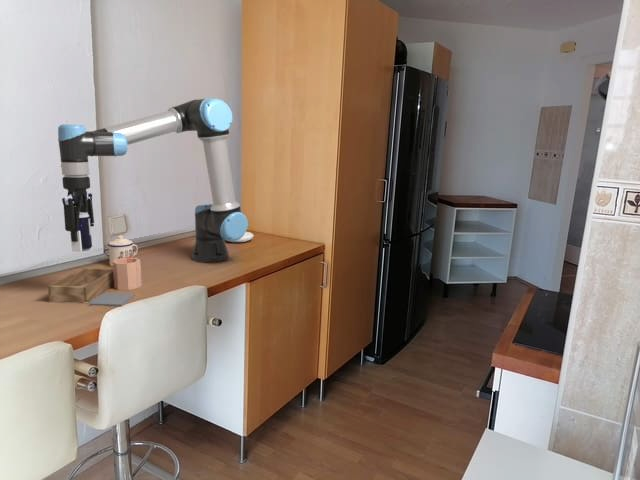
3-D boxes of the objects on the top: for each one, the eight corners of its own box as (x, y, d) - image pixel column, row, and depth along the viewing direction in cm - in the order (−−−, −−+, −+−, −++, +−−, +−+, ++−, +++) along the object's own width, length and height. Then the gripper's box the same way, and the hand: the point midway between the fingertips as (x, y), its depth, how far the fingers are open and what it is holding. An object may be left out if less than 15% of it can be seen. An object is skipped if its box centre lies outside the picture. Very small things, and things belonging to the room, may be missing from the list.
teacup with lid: (119, 268, 178) (117, 239, 176) (104, 265, 183) (102, 236, 181) (145, 262, 188) (143, 234, 186) (130, 259, 193) (129, 231, 191)
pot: (144, 283, 162) (142, 258, 160) (135, 290, 154) (133, 264, 152) (121, 282, 162) (119, 257, 160) (111, 289, 154) (109, 263, 152)
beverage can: (77, 247, 151) (73, 211, 149) (95, 247, 152) (92, 211, 149) (69, 252, 146) (65, 214, 143) (88, 252, 146) (84, 214, 144)
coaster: (134, 295, 149) (134, 293, 149) (121, 306, 140) (121, 304, 139) (104, 294, 149) (103, 292, 149) (88, 305, 140) (88, 303, 140)
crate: (117, 282, 161) (116, 269, 160) (87, 303, 141) (85, 287, 140) (84, 281, 162) (82, 268, 161) (49, 302, 141) (47, 286, 140)
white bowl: (255, 238, 240) (254, 224, 239) (252, 245, 225) (251, 230, 224) (224, 237, 240) (224, 224, 238) (219, 244, 224) (218, 230, 223)
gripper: (79, 173, 153) (85, 242, 158) (45, 178, 134) (53, 255, 139) (102, 173, 153) (107, 242, 158) (71, 178, 134) (78, 256, 139)
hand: (82, 248), depth 149 cm, fingers closed on beverage can, 6 cm apart
